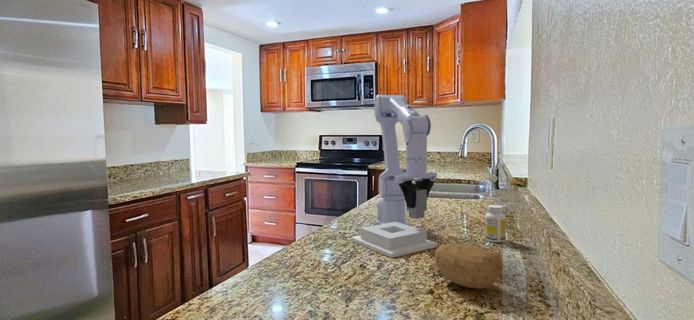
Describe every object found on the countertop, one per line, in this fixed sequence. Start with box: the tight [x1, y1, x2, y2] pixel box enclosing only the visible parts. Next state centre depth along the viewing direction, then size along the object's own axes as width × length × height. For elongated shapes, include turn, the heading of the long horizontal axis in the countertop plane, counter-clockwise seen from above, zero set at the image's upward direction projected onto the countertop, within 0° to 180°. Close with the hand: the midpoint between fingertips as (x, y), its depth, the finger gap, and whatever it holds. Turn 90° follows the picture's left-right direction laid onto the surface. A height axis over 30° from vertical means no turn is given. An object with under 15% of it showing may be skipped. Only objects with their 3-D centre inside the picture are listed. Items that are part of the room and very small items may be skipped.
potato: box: [433, 242, 504, 290], centre depth 74 cm, size 10×14×8 cm
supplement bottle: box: [484, 204, 507, 243], centre depth 104 cm, size 5×5×10 cm
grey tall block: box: [405, 188, 428, 220], centre depth 103 cm, size 4×4×8 cm
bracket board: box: [350, 222, 438, 259], centre depth 102 cm, size 18×16×4 cm
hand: (416, 206), depth 104 cm, fingers closed on grey tall block, 4 cm apart
